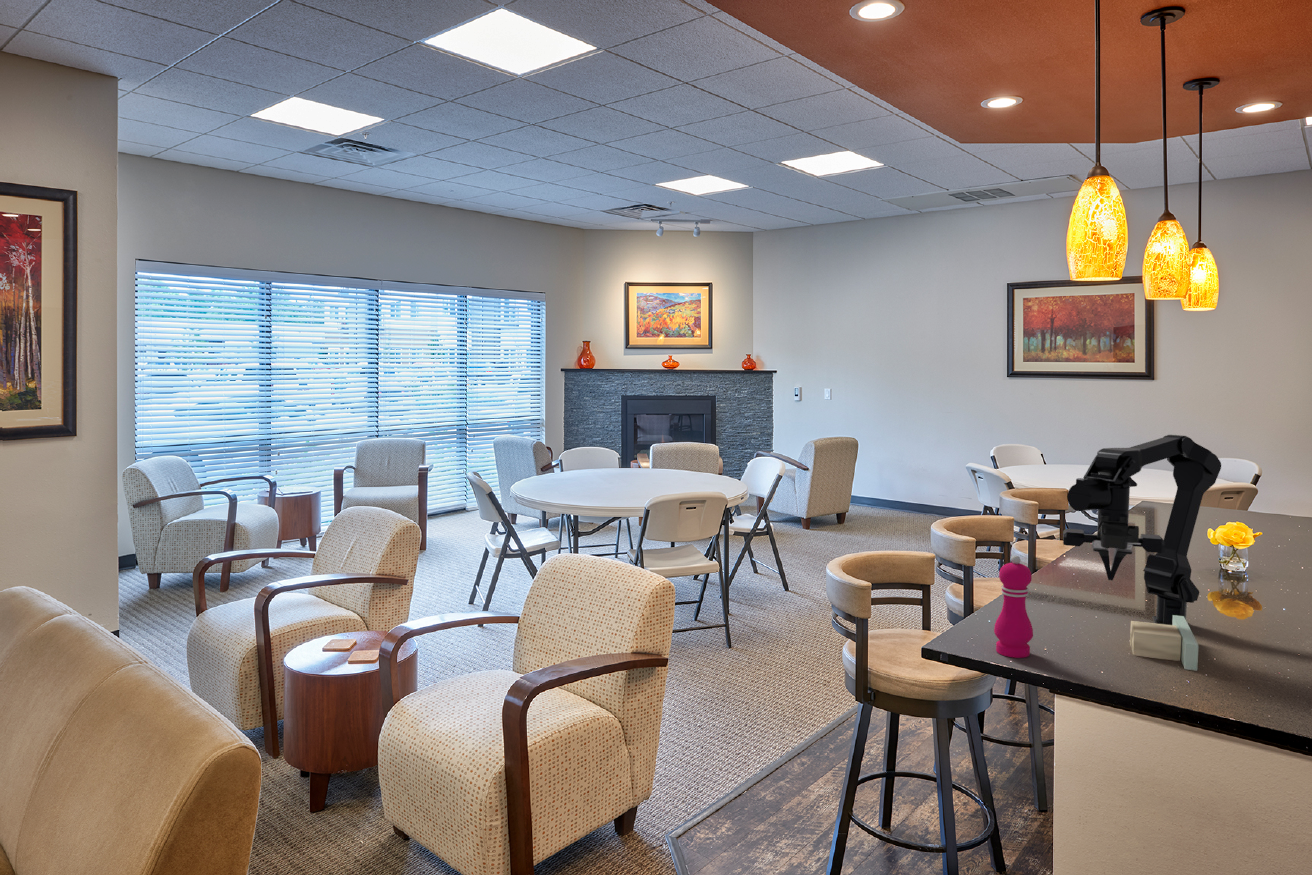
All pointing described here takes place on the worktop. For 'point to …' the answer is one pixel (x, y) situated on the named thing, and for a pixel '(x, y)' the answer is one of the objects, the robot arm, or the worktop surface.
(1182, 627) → the sage board
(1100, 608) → the worktop surface
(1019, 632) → the pepper mill
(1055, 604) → the worktop surface
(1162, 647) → the maple block
